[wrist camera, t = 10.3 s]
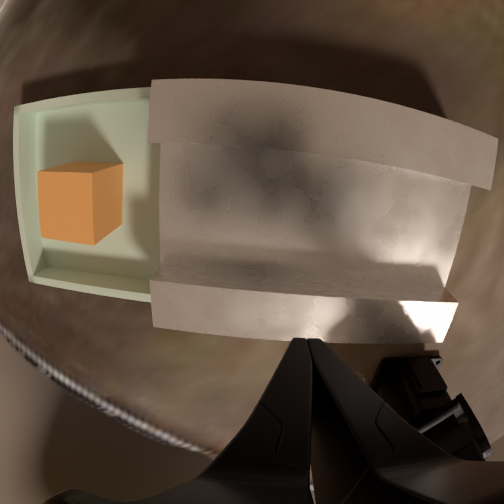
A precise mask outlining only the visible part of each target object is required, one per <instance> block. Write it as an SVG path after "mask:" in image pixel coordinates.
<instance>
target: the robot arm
mask: <svg viewBox="0 0 504 504" xmlns="http://www.w3.org/2000/svg"><path fill="white" fill-rule="evenodd" d="M442 361H443V360H442V358H441V356H425V357H404V358H385V359H383V360H382V361H381V363H380V365H379V368H378V370H377V372H376V375H375V377H374V379H373V381H372V384H371V386H370V387H369V386H368V385H367V384H366V383H365V382H364V381H363V380H362V379H361V378H360V377H359V376H358V375H357V374H356V373H355V372H354V371H353V370H352V369H351V368H350V367H349V366H348V365H347V364H346V363H345V362H344V361H342V360H341V359H340V358H339V357H338V356H337V355H336V354H335V353H334V352H333V351H332V350H331V349H330V348H329V347H328V346H327V345H326V344H325V343H324V342H323V341H322V340H321V339H319V338H308V339H307V340H306V338H298V337H294V338H292V340H291V342H290V344H289V346H288V348H287V350H286V351H285V353H284V355H283V357H282V359H281V361H280V363H279V365H278V367H277V369H276V371H275V372H274V374H273V376H272V378H271V380H270V382H269V384H268V385H267V387H266V389H265V391H264V393H263V394H262V396H261V398H260V400H259V402H258V404H257V405H256V407H255V408H254V410H253V412H252V413H251V415H250V417H249V418H248V420H247V421H246V423H245V424H244V426H243V427H242V428H241V429H240V431H239V432H238V433H237V434H236V436H235V437H234V438H233V439H232V440H231V442H230V443H229V444H228V445H227V446H226V447H225V448H224V449H223V451H222V452H221V453H220V454H219V455H218V456H217V457H216V458H215V459H214V460H213V461H212V463H211V464H210V465H209V466H208V467H207V468H206V469H205V470H204V471H202V472H201V473H200V474H199V475H198V476H196V477H195V478H193V479H191V480H189V481H187V482H185V483H182V484H180V485H178V486H175V487H173V488H170V489H168V490H165V491H163V492H161V493H158V494H155V495H152V496H149V497H147V498H144V499H140V500H136V501H126V502H125V501H116V500H111V499H107V498H104V497H101V496H98V495H96V494H93V493H90V492H87V491H84V490H79V489H68V490H65V491H63V492H60V493H58V494H56V495H54V496H52V497H50V498H48V499H47V500H46V501H45V502H44V503H42V504H314V502H313V498H312V495H311V491H310V464H311V472H312V479H313V487H314V494H315V502H316V504H504V462H498V461H497V462H494V461H485V459H486V458H488V457H489V456H491V455H492V454H493V452H492V449H491V446H490V444H489V442H488V439H487V437H486V435H485V433H484V431H483V429H482V427H481V425H480V424H479V422H478V420H477V418H476V417H475V415H474V413H473V412H472V410H471V408H470V407H469V405H468V403H467V402H466V400H465V398H464V397H463V395H462V394H461V393H460V394H459V395H457V396H456V398H455V399H453V400H451V398H450V396H449V395H448V393H447V391H446V390H447V385H446V384H445V382H444V380H443V378H442V377H441V375H440V373H439V371H438V369H439V367H440V365H441V363H442ZM387 363H388V364H387ZM385 364H386V365H385Z"/></svg>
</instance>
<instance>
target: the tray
mask: <svg viewBox="0 0 504 504" xmlns="http://www.w3.org/2000/svg"><path fill="white" fill-rule="evenodd" d="M150 93H151V87H143V88H129V89H117V90H107V91H98V92H90V93H83V94H76V95H70V96H63V97H58V98H52V99H47V100H42V101H37V102H32V103H28V104H23V105H19V106H15V107H14V128H13V156H14V180H15V193H16V204H17V213H18V221H19V228H20V235H21V242H22V248H23V253H24V259H25V264H26V269H27V273H28V278H29V282H32V283H37V284H42V285H47V286H53V287H58V288H63V289H69V290H74V291H80V292H86V293H92V294H98V295H104V296H111V297H117V298H124V299H130V300H137V301H144V302H151V295H150V281H149V280H150V279H151V277H152V276H153V274H154V273H155V271H156V270H157V269H158V267H159V266H160V232H159V183H160V149H161V143H147V142H148V122H149V106H150ZM70 162H102V163H124V166H123V202H122V225H120V226H119V227H118V228H116V229H115V230H114V231H112V232H111V233H110V234H108V235H107V236H106V237H105V238H103V239H102V240H101V241H99V242H98V243H97V244H96V245H94V246H93V245H87V244H80V243H73V242H67V241H60V240H54V239H47V238H41V231H40V220H39V206H38V186H37V171H40V170H44V169H47V168H51V167H55V166H58V165H62V164H66V163H70Z"/></svg>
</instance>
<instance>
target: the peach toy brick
mask: <svg viewBox="0 0 504 504" xmlns="http://www.w3.org/2000/svg"><path fill="white" fill-rule="evenodd" d="M123 166H124V163H102V162H70V163H66V164H62V165H58V166H55V167H51V168H47V169H44V170H40V171H37V186H38V206H39V220H40V231H41V238H47V239H54V240H60V241H67V242H73V243H80V244H87V245H93V246H94V245H96V244H97V243H98V242H99V241H101V240H102V239H103V238H105V237H106V236H107V235H108V234H110V233H111V232H112V231H114V230H115V229H116V228H118V227H119V226H120V225H122V202H123Z"/></svg>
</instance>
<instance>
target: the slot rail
mask: <svg viewBox="0 0 504 504" xmlns="http://www.w3.org/2000/svg"><path fill="white" fill-rule="evenodd" d="M147 143H161V149H160V183H159V232H160V266H159V267H158V269H157V270H156V271H155V273H154V274H153V276H152V277H151V279H150V280H149V281H150V295H151V306H152V317H153V327H159V328H166V329H173V330H181V331H189V332H197V333H205V334H214V335H223V336H233V337H244V338H256V339H268V340H283V341H291V340H292V338H294V337H298V338H306V340H307V339H308V338H319V339H321V340H322V341H323V342H324V343H356V344H402V343H436V342H442V341H443V339H444V337H445V335H446V333H447V330H448V328H449V326H450V323H451V321H452V318H453V316H454V313H455V311H456V308H457V306H458V303H459V302H458V301H457V300H456V299H455V298H454V297H453V296H452V295H451V294H450V293H449V292H448V291H447V290H446V289H445V285H446V282H447V279H448V276H449V272H450V269H451V266H452V263H453V259H454V256H455V253H456V249H457V245H458V242H459V238H460V234H461V230H462V226H463V222H464V218H465V213H466V209H467V204H468V199H469V194H470V189H471V185H473V186H477V187H480V188H484V189H487V190H491V186H492V180H493V174H494V168H495V161H496V154H497V145H498V139H497V138H495V137H493V136H490V135H488V134H485V133H483V132H480V131H478V130H475V129H473V128H470V127H467V126H465V125H462V124H459V123H457V122H454V121H451V120H448V119H445V118H442V117H439V116H436V115H433V114H429V113H426V112H423V111H419V110H416V109H413V108H409V107H405V106H402V105H398V104H394V103H390V102H386V101H382V100H378V99H373V98H369V97H364V96H359V95H355V94H350V93H344V92H339V91H333V90H327V89H321V88H314V87H308V86H300V85H292V84H283V83H274V82H263V81H250V80H232V79H159V80H152V82H151V93H150V106H149V122H148V142H147Z"/></svg>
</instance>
